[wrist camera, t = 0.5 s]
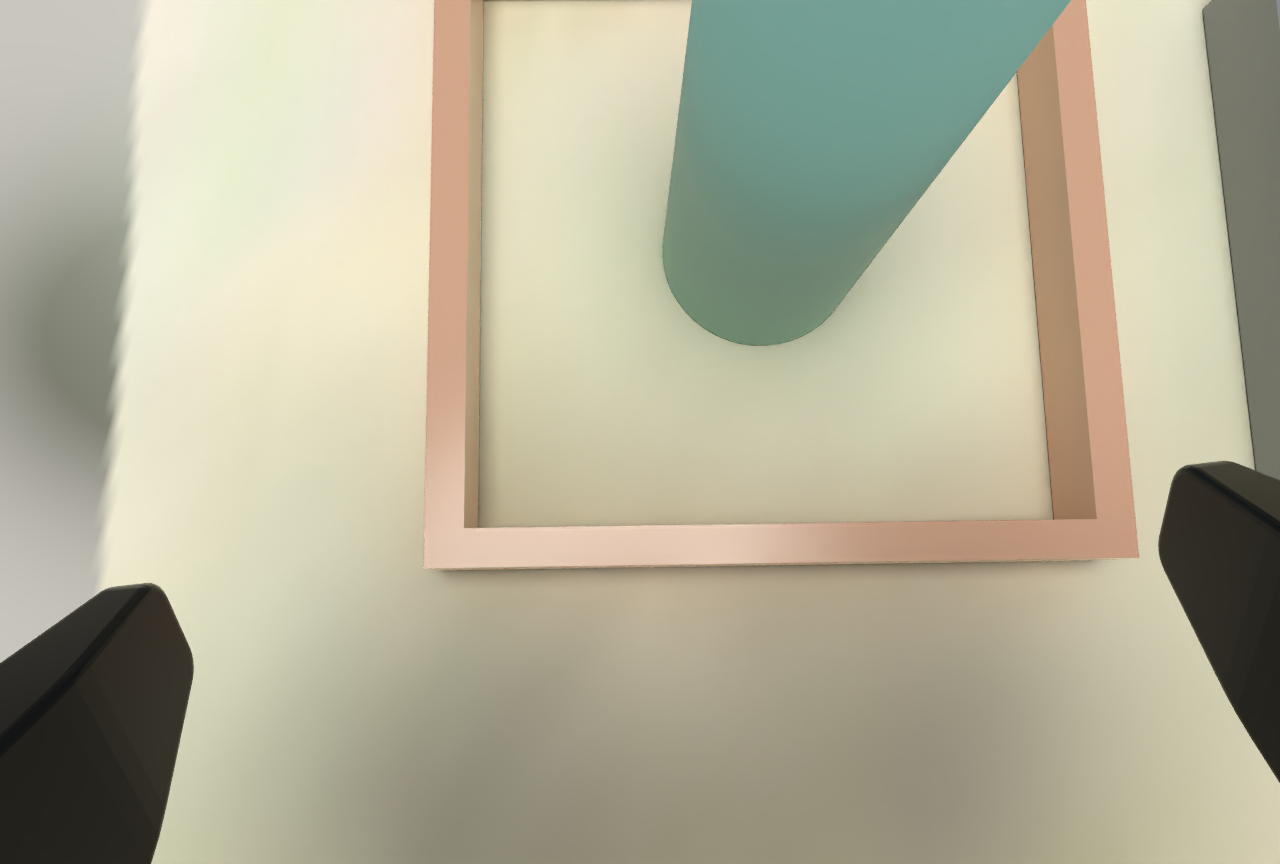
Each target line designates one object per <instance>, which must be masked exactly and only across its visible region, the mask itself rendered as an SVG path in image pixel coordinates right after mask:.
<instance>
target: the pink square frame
mask: <svg viewBox="0 0 1280 864" xmlns="http://www.w3.org/2000/svg"><path fill="white" fill-rule="evenodd" d="M483 12H484V0H434V51H433V103H432V155H431V207H430V259H429V311H428V363H427V416H426V468H425V520H424V568H425V569H434V570H494V569H559V568H625V567H690V566H755V565H821V564H886V563H952V562H1017V561H1083V560H1106V559H1123V558H1139V553H1138V543H1137V532H1136V522H1135V511H1134V501H1133V490H1132V480H1131V469H1130V459H1129V448H1128V438H1127V427H1126V417H1125V406H1124V396H1123V385H1122V375H1121V364H1120V354H1119V343H1118V333H1117V323H1116V312H1115V302H1114V291H1113V281H1112V270H1111V260H1110V249H1109V239H1108V228H1107V218H1106V207H1105V197H1104V186H1103V176H1102V165H1101V155H1100V144H1099V134H1098V123H1097V113H1096V102H1095V92H1094V81H1093V71H1092V60H1091V50H1090V39H1089V29H1088V19H1087V8H1086V0H1071V1H1070V3H1069V4H1068V5H1067V7H1066V8H1065V9H1064V10H1063V12H1062V13H1061V14H1060V16H1059V17H1058V18H1057V20H1056V21H1055V22H1054V24H1053V25H1052V26H1051V28H1050V29H1049V30H1048V31H1047V33H1046V34H1045V35H1044V37H1043V38H1042V39H1041V41H1040V42H1039V43H1038V45H1037V46H1036V47H1035V48H1034V50H1033V51H1032V52H1031V54H1030V55H1029V56H1028V58H1027V59H1026V60H1025V62H1024V63H1023V64H1022V65H1021V67H1020V68H1019V69H1018V71H1017V76H1018V89H1019V101H1020V113H1021V125H1022V137H1023V149H1024V162H1025V174H1026V186H1027V198H1028V210H1029V222H1030V234H1031V247H1032V259H1033V271H1034V283H1035V295H1036V307H1037V320H1038V332H1039V344H1040V356H1041V368H1042V380H1043V392H1044V405H1045V417H1046V429H1047V441H1048V453H1049V465H1050V478H1051V490H1052V502H1053V514H1054V520H990V521H921V522H851V523H781V524H712V525H642V526H572V527H503V528H478V486H479V391H480V297H481V202H482V107H483Z"/></svg>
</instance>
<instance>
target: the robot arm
mask: <svg viewBox="0 0 1280 864" xmlns="http://www.w3.org/2000/svg"><path fill="white" fill-rule="evenodd" d="M1159 556H1160V560H1161V563H1162V566H1163V568H1164V571H1165V573H1166V575H1167V577H1168V579H1169V581H1170V583H1171V585H1172V587H1173V589H1174V591H1175V593H1176V595H1177V597H1178V599H1179V601H1180V603H1181V605H1182V607H1183V609H1184V611H1185V613H1186V615H1187V617H1188V619H1189V621H1190V623H1191V625H1192V627H1193V629H1194V631H1195V633H1196V635H1197V637H1198V639H1199V641H1200V643H1201V645H1202V648H1203V650H1204V652H1205V654H1206V656H1207V658H1208V660H1209V662H1210V664H1211V666H1212V668H1213V670H1214V672H1215V674H1216V676H1217V678H1218V680H1219V682H1220V684H1221V686H1222V688H1223V690H1224V692H1225V694H1226V695H1227V697H1228V699H1229V701H1230V703H1231V705H1232V707H1233V708H1234V710H1235V712H1236V714H1237V715H1238V717H1239V719H1240V720H1241V722H1242V724H1243V725H1244V727H1245V729H1246V730H1247V732H1248V734H1249V735H1250V737H1251V739H1252V740H1253V742H1254V743H1255V745H1256V746H1257V748H1258V750H1259V751H1260V753H1261V754H1262V756H1263V757H1264V759H1265V760H1266V762H1267V764H1268V765H1269V767H1270V768H1271V770H1272V771H1273V773H1274V775H1275V776H1276V778H1277V779H1278V781H1279V782H1280V480H1278V479H1276V478H1273V477H1271V476H1268V475H1265V474H1263V473H1260V472H1258V471H1255V470H1252V469H1250V468H1247V467H1245V466H1242V465H1240V464H1237V463H1234V462H1229V461H1218V462H1209V463H1201V464H1192V465H1186V466H1184V467H1182V468H1180V469H1179V470H1178V471H1177V472H1176V474H1175V475H1174V477H1173V480H1172V483H1171V488H1170V492H1169V496H1168V501H1167V505H1166V509H1165V514H1164V518H1163V522H1162V527H1161V531H1160V535H1159ZM193 670H194V665H193V657H192V653H191V650H190V647H189V645H188V642H187V640H186V638H185V636H184V633H183V631H182V629H181V627H180V625H179V622H178V620H177V618H176V616H175V613H174V611H173V609H172V607H171V605H170V602H169V600H168V598H167V596H166V594H165V593H164V591H163V590H162V589H161V588H160V587H159V586H157V585H155V584H152V583H143V584H134V585H125V586H116V587H111V588H108V589H105V590H103V591H102V592H100V593H99V594H97V595H96V596H94V597H93V598H92V599H90V600H89V601H87V602H86V603H85V604H83V605H82V606H80V607H79V608H78V609H76V610H75V611H73V612H72V613H70V614H69V615H68V616H66V617H65V618H64V619H62V620H61V621H59V622H58V623H56V624H55V625H54V626H52V627H51V628H50V629H48V630H47V631H45V632H44V633H42V634H41V635H39V636H38V637H37V638H35V639H34V640H32V641H31V642H30V643H28V644H27V645H25V646H24V647H23V648H21V649H20V650H18V651H17V652H15V653H14V654H13V655H11V656H10V657H8V658H7V659H6V660H4V661H3V662H1V663H0V864H151V862H152V859H153V855H154V852H155V849H156V845H157V842H158V839H159V835H160V831H161V827H162V823H163V818H164V814H165V810H166V805H167V801H168V796H169V791H170V786H171V781H172V777H173V772H174V767H175V762H176V757H177V753H178V748H179V743H180V738H181V733H182V728H183V724H184V719H185V714H186V709H187V704H188V700H189V695H190V690H191V685H192V680H193Z"/></svg>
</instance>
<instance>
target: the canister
mask: <svg viewBox="0 0 1280 864" xmlns="http://www.w3.org/2000/svg"><path fill="white" fill-rule="evenodd" d="M1070 1H1071V0H692V7H691V15H690V23H689V32H688V40H687V48H686V56H685V65H684V73H683V81H682V89H681V98H680V106H679V114H678V123H677V131H676V139H675V147H674V156H673V164H672V172H671V180H670V189H669V197H668V205H667V214H666V222H665V230H664V238H663V264H664V270H665V274H666V278H667V281H668V283H669V286H670V288H671V291H672V293H673V294H674V296H675V298H676V300H677V301H678V303H679V304H680V305H681V307H682V308H683V309H684V311H685V312H686V313H687V314H688V315H689V316H690V317H691V318H692V319H693V320H694V321H695V322H697V323H698V324H699V325H700V326H702V327H703V328H704V329H706V330H708V331H709V332H711V333H713V334H715V335H717V336H719V337H721V338H724V339H726V340H729V341H733V342H736V343H740V344H747V345H774V344H780V343H784V342H788V341H791V340H794V339H796V338H799V337H801V336H803V335H805V334H807V333H809V332H811V331H812V330H814V329H815V328H816V327H818V326H819V325H820V324H822V323H823V322H824V321H825V320H826V319H827V318H828V317H829V316H830V315H831V314H832V313H833V311H834V310H835V309H836V307H837V306H838V305H839V304H840V302H841V301H842V300H843V298H844V297H845V296H846V294H847V293H848V292H849V290H850V289H851V288H852V287H853V285H854V284H855V283H856V281H857V280H858V279H859V277H860V276H861V275H862V273H863V272H864V271H865V270H866V268H867V267H868V266H869V264H870V263H871V262H872V260H873V259H874V258H875V256H876V255H877V254H878V253H879V251H880V250H881V249H882V247H883V246H884V245H885V243H886V242H887V241H888V239H889V238H890V237H891V236H892V234H893V233H894V232H895V230H896V229H897V228H898V226H899V225H900V224H901V222H902V221H903V220H904V219H905V217H906V216H907V215H908V213H909V212H910V211H911V209H912V208H913V207H914V205H915V204H916V203H917V201H918V200H919V199H920V198H921V196H922V195H923V194H924V192H925V191H926V190H927V188H928V187H929V186H930V184H931V183H932V182H933V181H934V179H935V178H936V177H937V175H938V174H939V173H940V171H941V170H942V169H943V167H944V166H945V165H946V164H947V162H948V161H949V160H950V158H951V157H952V156H953V154H954V153H955V152H956V150H957V149H958V148H959V147H960V145H961V144H962V143H963V141H964V140H965V139H966V137H967V136H968V135H969V133H970V132H971V131H972V130H973V128H974V127H975V126H976V124H977V123H978V122H979V120H980V119H981V118H982V116H983V115H984V114H985V113H986V111H987V110H988V109H989V107H990V106H991V105H992V103H993V102H994V101H995V99H996V98H997V97H998V96H999V94H1000V93H1001V92H1002V90H1003V89H1004V88H1005V86H1006V85H1007V84H1008V82H1009V81H1010V80H1011V79H1012V77H1013V76H1014V75H1015V73H1016V72H1017V71H1018V69H1019V68H1020V67H1021V65H1022V64H1023V63H1024V62H1025V60H1026V59H1027V58H1028V56H1029V55H1030V54H1031V52H1032V51H1033V50H1034V48H1035V47H1036V46H1037V45H1038V43H1039V42H1040V41H1041V39H1042V38H1043V37H1044V35H1045V34H1046V33H1047V31H1048V30H1049V29H1050V28H1051V26H1052V25H1053V24H1054V22H1055V21H1056V20H1057V18H1058V17H1059V16H1060V14H1061V13H1062V12H1063V10H1064V9H1065V8H1066V7H1067V5H1068V4H1069V3H1070Z"/></svg>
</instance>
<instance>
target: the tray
mask: <svg viewBox="0 0 1280 864" xmlns="http://www.w3.org/2000/svg"><path fill="white" fill-rule="evenodd" d="M1203 16H1204V24H1205V33H1206V42H1207V50H1208V59H1209V68H1210V76H1211V85H1212V94H1213V102H1214V111H1215V119H1216V128H1217V137H1218V145H1219V154H1220V163H1221V171H1222V180H1223V189H1224V197H1225V206H1226V214H1227V223H1228V232H1229V240H1230V249H1231V258H1232V266H1233V275H1234V284H1235V292H1236V301H1237V309H1238V318H1239V327H1240V335H1241V344H1242V353H1243V361H1244V370H1245V379H1246V387H1247V396H1248V404H1249V413H1250V422H1251V430H1252V439H1253V448H1254V456H1255V465H1256V471H1258V472H1260V473H1263V474H1265V475H1268V476H1271V477H1273V478H1276V479H1278V480H1280V0H1212V1H1211V2H1210V3H1209V4H1208V5H1207V6H1206V7H1205V8H1204V9H1203Z"/></svg>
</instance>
